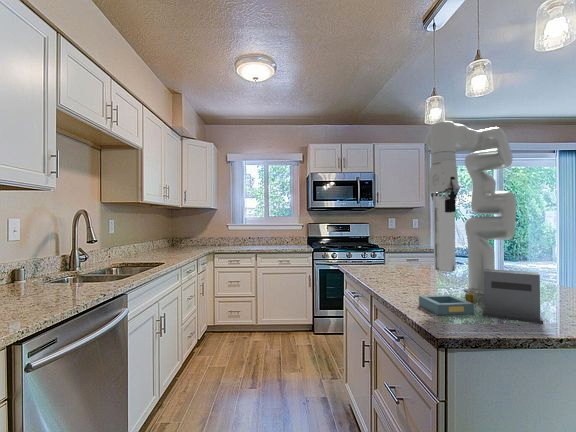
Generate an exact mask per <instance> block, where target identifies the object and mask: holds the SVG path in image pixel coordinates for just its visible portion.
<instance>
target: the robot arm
mask: <svg viewBox="0 0 576 432" xmlns="http://www.w3.org/2000/svg"><path fill="white" fill-rule="evenodd" d="M425 145H426V147H427V149H428V150H430V159H431V160H430V163H431V164H430V170H429V174H428V175H429V177H428V178H429V179H428V180H429V181H428V192H429V194H430V196H431V201H432V202H433V199H434V197H435V196H446V198H447V200H445V211H446V212H455V213H456V211H457V209H456V207H457V206H456V200H457V196H458V193H459V191H460V189H461V186H460V184H459V179H458V177H459V176H458V168H457V160H456V159H457V154H456V152H469V153H468V154H467V155H466V156H465V158H464V164H465V168H466V171H467V172H468V174H469V176H470V179H471V182H472V192H471V193H472V194H471V207H470V208H471V211H472V212H473V213H475V214H476V215H479V216H473V217H470V218H468V219H466V221H465V223H464V225H465V226H464V229H465V234H466V241H467V261H468V262H467V267H468V268H467V272H468V273H467V275H468V276H467V279H468V283H467V284H468V285H467V286H464V288H463V289H464V291H465V292H466V293H467V292H468V291H469V290H471V289H472V288H476V289H479V292H480V295H484V269H495V264H496V263H495V249H494V247H493V246H492V244H491V243H490V242H489V241H490V240H491V241H493V240H498V241H508V240H509V241H510V240H512V239H513V238H514V237H515V233H516V221H517V219H516V218H517V217H516V216H517V199H516V195H515V194H514V193H513V192H511V191H509V190H507V191H506V190H502V191H501V190H498V191H496V185H497V182H496V180H495V178H493V176H492V175H490V173H488V172H487V171H490V170H491V171H493V170H501V169H502V170H503V169H506V168H509V167H511V165H512V163H513V153H512V150H511V147H510V146H511V145H510V144H509V141H508V138H507V135H506V133H505V132H504V130H503V128H501V127H497V126H495V127H489V128H485V129H479V130H476V129H472V128H469V127H468V126H466V125H464V124H461V123H455V122H453V121H451V120H443V121H438V122H435V123H433V124H432V126H431V127H430V131H429V132H428V133H427V134H426V136H425ZM443 194H445V195H443ZM480 215H483V216H480ZM484 215H487V216H484ZM489 215H490V216H489ZM491 215H492V216H491ZM493 215H497V216H493ZM499 215H500V216H499ZM488 240H489V241H488ZM495 270H496V269H495Z"/></svg>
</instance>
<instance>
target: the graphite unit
mask: <svg viewBox="0 0 576 432" xmlns="http://www.w3.org/2000/svg"><path fill="white" fill-rule="evenodd" d="M540 277H541V275H540V274H539V273H538V272H537V271H522V270H512V269H511V270H509V269H507V270H506V269H484V294H483V306H482V309H481V310H482V312H481V313H482V315H481V316H482V317H484V318H485V317H486V318H493V319H500V320H509V321H517V322H525V323H531V324H538V325H544V320H543V318H542V317H541V278H540Z"/></svg>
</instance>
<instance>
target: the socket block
mask: <svg viewBox="0 0 576 432" xmlns="http://www.w3.org/2000/svg"><path fill="white" fill-rule="evenodd" d="M418 306H419V307H420V308H422V309H424V310H426V311H428V312H430V313H432V314H434V315H436V316H437V317H449V316H450V317H453V316H475V304H473V303H471V302H468V301H466V300H465V299H463V298H460V297H457V296H454V295H452V294H443V295H441V294H440V295H439V294H438V295H437V294H436V295H435V294H433V295H418Z"/></svg>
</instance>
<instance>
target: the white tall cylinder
mask: <svg viewBox="0 0 576 432" xmlns="http://www.w3.org/2000/svg"><path fill="white" fill-rule="evenodd" d="M445 200H447V198H446V195H442V196H439V195H438V196H435V197H434V199H433V201H432V212H433V214H432V215H433V216H432V217H433V218H432V219H433V270H434V271H437V272H450V273H451V272H455V271H457V270H456V211H455V212H446V211H445Z"/></svg>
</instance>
